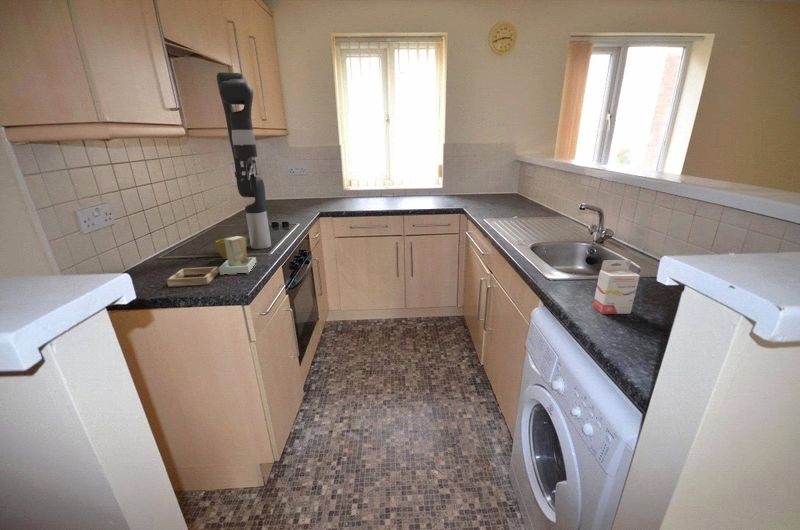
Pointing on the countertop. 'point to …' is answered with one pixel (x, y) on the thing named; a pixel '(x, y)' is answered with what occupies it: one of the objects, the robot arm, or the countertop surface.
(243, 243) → the skincare box
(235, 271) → the parts tray
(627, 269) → the ink cartridge box
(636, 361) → the countertop surface
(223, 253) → the flower pot
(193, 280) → the frame
